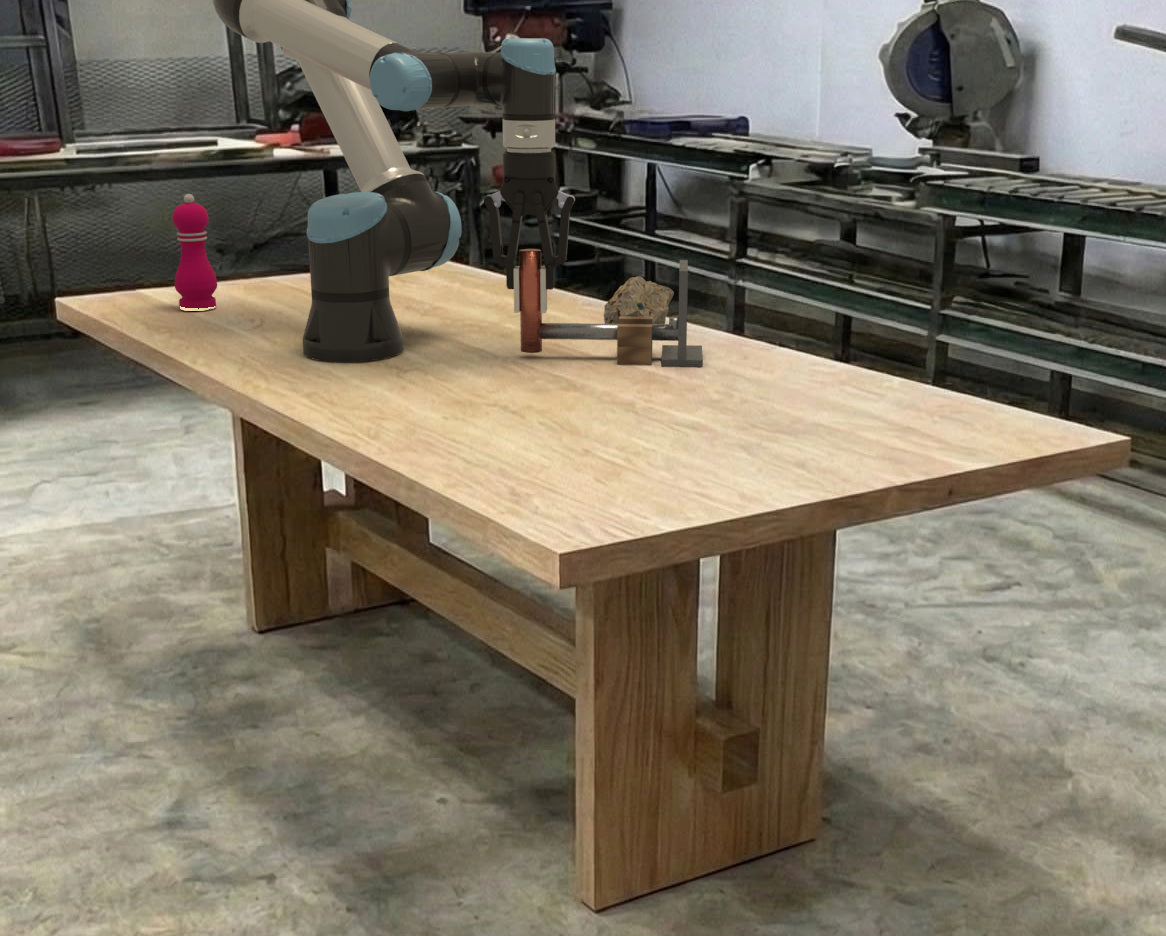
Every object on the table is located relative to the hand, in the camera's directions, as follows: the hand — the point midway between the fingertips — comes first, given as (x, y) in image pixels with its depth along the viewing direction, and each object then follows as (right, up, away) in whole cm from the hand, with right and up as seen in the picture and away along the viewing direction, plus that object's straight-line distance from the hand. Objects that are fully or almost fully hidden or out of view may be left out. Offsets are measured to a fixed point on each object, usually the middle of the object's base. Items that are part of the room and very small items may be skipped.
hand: (530, 310), depth 214 cm
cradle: (+16, -7, +1) cm, 17 cm away
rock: (+18, -1, +20) cm, 27 cm away
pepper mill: (-60, +4, +39) cm, 72 cm away
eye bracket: (+23, -7, +1) cm, 24 cm away
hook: (+10, -6, +1) cm, 12 cm away
